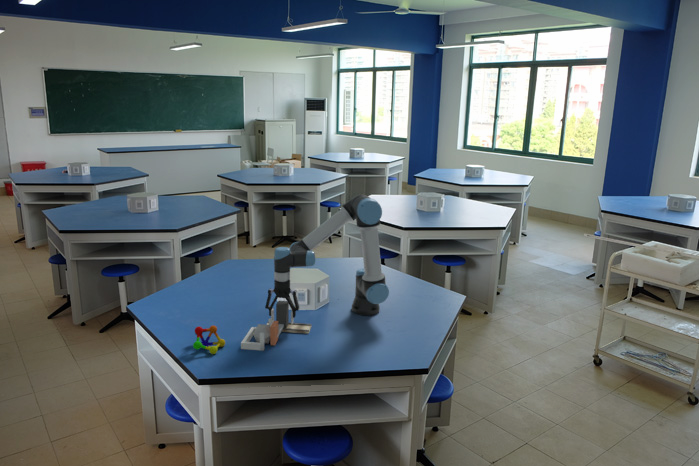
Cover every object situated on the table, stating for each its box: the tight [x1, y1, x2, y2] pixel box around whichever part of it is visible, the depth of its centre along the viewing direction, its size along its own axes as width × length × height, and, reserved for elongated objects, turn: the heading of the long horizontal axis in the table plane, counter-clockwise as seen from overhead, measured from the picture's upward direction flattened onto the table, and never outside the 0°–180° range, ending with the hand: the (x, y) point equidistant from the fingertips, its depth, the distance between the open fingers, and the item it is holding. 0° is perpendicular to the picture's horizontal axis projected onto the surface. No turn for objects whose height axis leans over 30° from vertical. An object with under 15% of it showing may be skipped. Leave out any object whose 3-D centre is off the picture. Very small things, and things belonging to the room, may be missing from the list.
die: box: [253, 323, 270, 344], centre depth 239 cm, size 8×9×10 cm
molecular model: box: [192, 325, 226, 355], centre depth 230 cm, size 15×10×15 cm
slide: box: [266, 320, 312, 335], centre depth 254 cm, size 22×8×2 cm, turn 84°
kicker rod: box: [269, 300, 290, 346], centre depth 244 cm, size 5×22×13 cm, turn 174°
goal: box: [240, 318, 273, 352], centre depth 239 cm, size 10×18×8 cm, turn 174°
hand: (282, 322), depth 254 cm, fingers open, 9 cm apart
